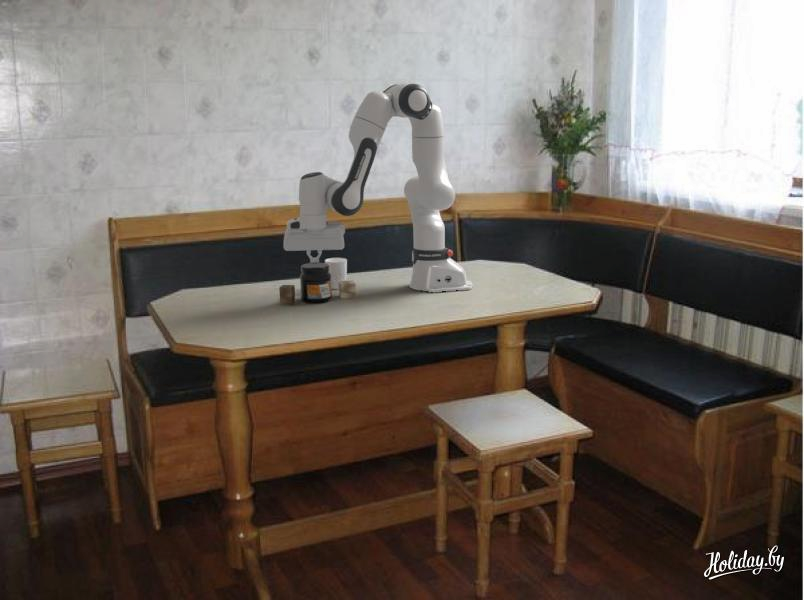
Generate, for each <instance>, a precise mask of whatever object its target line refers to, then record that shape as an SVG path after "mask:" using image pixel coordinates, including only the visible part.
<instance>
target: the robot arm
mask: <svg viewBox="0 0 804 600" xmlns="http://www.w3.org/2000/svg"><path fill="white" fill-rule="evenodd" d="M442 114H443V113H442V111H441V108H440V107H439V106H438V105H436V104H435V103H433V102H432V100H431V98H430V95H429V93H428V91H427V90H426V89H425V87H424V86H423V85H420V84H417V83H409V82H408V83H407V82H406V83H405V82H403V83H400V84H393V85H391V86H389V87H387V88H386V89H385V90H383V91H379V90H378V91H377V90H373V91H370V92H368V93H367V94H366V95H365V97H364V98H363V100H362V102H361V103H360V105H359V107H358V108H357V111H356V112H355V115H354V117H353V118H352V122H351V124H350V127H349V131H348V139H349V142H350V144H351V146H352V149H353V153H354V154H353V158H352V159H353V160H352V163H351V164H350V167H349V171H348V173H347V175H346V178H345V180H344V181H343V182H342V181H339V180H336V179H333V178H331V177H328V176H327V175H325V174H324V173H323V172H321V171H316V172H308V173H305V174H304V175H302V176H301V178H300V179H299V185H298V201H299V205H300V210H299V216H298V217H295V218H292V219H289V220H288V221H287V222H286V230H285V231H284V235H283V247H282V248H283V250H284V251H286V252H292V251H293V252H295V251H297V252H298V251H300V252H302V251H306V255H307V256H308V258H309V263H310V264H314V263H320V257H321V255H322V253H323V251H338V250H339V251H341V250H343V249H344V248H345V239H344V238H345V237H344V235H345V233H346V226H345V224H344V223H342V222H341V221H327V220H328V219H327V218H328V217H327V212H328V210H332V211H334V212H337V213H338V214H340V215H342V216H345V217H350V216H354V215H356V214H357V213H358V212H359V211H360V210H361V208H362V207H363V204H364V199H365V198H364V193H365V192H364V191H365V187H366V183H367V180H368V177H369V175H370V173H371V169H372V166H373V164H374V161H375V158H376V155H377V151H378V148H379V145H380V143H381V141H382V138H383V136H384V134H385V131H386V129H387V128H388V127H387V126H388V123H389V122H390V121H391V119H392V118H393V117H398V118H405V119H406V118H408V120H409V121H410V125H411V150H412V151H411V153H412V154H411V157H412V158H411V159H412V163H413V164H414V166H415V168H416V172H417V176H413V177H410V178H408V180H407V181H406V182H405V184H404V187H403V193H404V197H405V198H406V200H407V203H408V208H409V212H410V216H411V221H412V226H413V227H412V231H413V232H412V233H413V237H412V239H413V247H412V251H411V261H412V264H413V265H412V274H411V279H410V283H409V288H410V289H412V290H416V291H421V290H422V291H421V292H426V291H428V292H427V293H431V292H433V293H442V291H446V292H457V291H456V290H458V291H467V290H472V289H473V282H472V281H471V280H470V279H468V278H467V273H466V271H465V269H464V267H462V265H460V264H459V263H458V262H456V260H454V259H452V258H451V257H453V256H454V252H453V250H452V249H449V248H447V247H446V245H445V244H446V243H445V241H446V240H445V239H446V237H445V236H446V233H445V232H446V230H445V229H446V227H445V223H444V221H443V219H442V216H441V213H440V212H441V211H445V210H448V209H449V208H450V207H452V206H453V204H454V202H455V200H456V191H455V189H454V187H453V186H452V184H451V182H450V178H449V174H448V169H447V163H446V158H445V157H446V155H445V130H444V129H445V128H444V121H443V115H442ZM311 251H317V254H318V255H317V256H315V257H313V256H312V255H311V253H312V252H311Z"/></svg>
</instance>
